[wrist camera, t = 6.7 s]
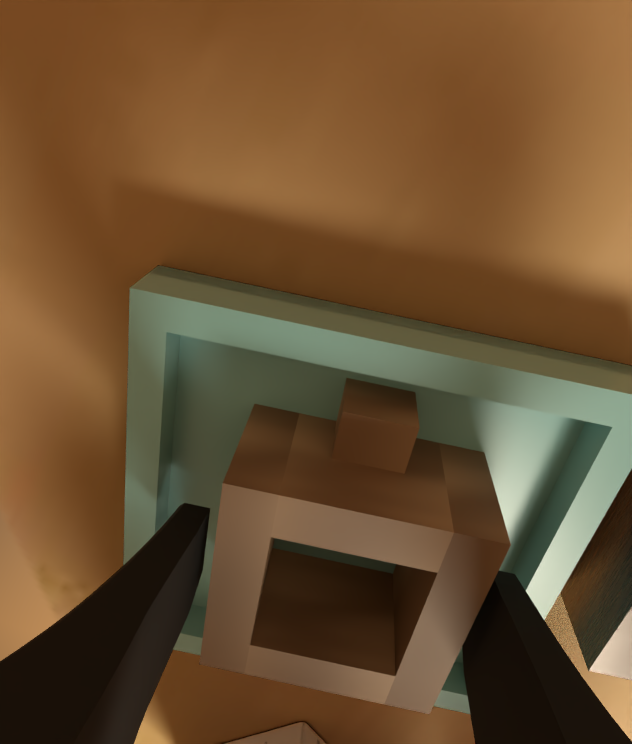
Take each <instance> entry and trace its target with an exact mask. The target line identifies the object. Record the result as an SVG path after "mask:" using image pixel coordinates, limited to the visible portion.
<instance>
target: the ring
mask: <svg viewBox="0 0 632 744" xmlns="http://www.w3.org/2000/svg"><path fill="white" fill-rule="evenodd" d="M418 431H419V419H418V411H417V402H416V393H415V392H412V391H407V390H403V389H398V388H393V387H389V386H384V385H379V384H374V383H370V382H365V381H360V380H355V379H351V378H347V379H346V383H345V387H344V391H343V396H342V400H341V404H340V408H339V412H338V416H337V421H334V420H330V419H325V418H320V417H316V416H311V415H306V414H301V413H297V412H292V411H287V410H283V409H278V408H273V407H268V406H264V405H259V404H254V406H253V409H252V411H251V414H250V416H249V419H248V421H247V424H246V426H245V429H244V431H243V434H242V436H241V439H240V441H239V444H238V446H237V448H236V451H235V453H234V456H233V458H232V461H231V463H230V466H229V468H228V471H227V473H226V476H225V478H224V481H223V483H222V491H221V499H220V507H219V515H218V522H217V530H216V538H215V546H214V553H213V561H212V569H211V577H210V584H209V592H208V600H207V608H206V616H205V623H204V631H203V639H202V647H201V654H200V662H199V664H200V665H204V666H209V667H214V668H218V669H223V670H228V671H232V672H237V673H241V674H246V675H251V676H255V677H260V678H264V679H269V680H274V681H278V682H283V683H287V684H292V685H297V686H301V687H306V688H311V689H315V690H320V691H324V692H329V693H334V694H338V695H343V696H347V697H352V698H357V699H361V700H366V701H370V702H375V703H380V704H384V705H389V706H394V707H398V708H403V709H407V710H412V711H417V712H421V713H426V714H430V712H431V710H432V708H433V706H434V704H435V702H436V700H437V698H438V696H439V693H440V691H441V689H442V687H443V685H444V683H445V681H446V679H447V677H448V675H449V673H450V671H451V668H452V666H453V664H454V662H455V660H456V658H457V656H458V654H459V652H460V650H461V648H462V646H463V644H464V641H465V639H466V637H467V635H468V633H469V631H470V629H471V627H472V625H473V623H474V621H475V619H476V617H477V614H478V612H479V610H480V608H481V606H482V604H483V602H484V600H485V598H486V596H487V594H488V592H489V589H490V587H491V585H492V583H493V581H494V579H495V577H496V575H497V573H498V571H499V569H500V567H501V565H502V562H503V560H504V558H505V556H506V554H507V552H508V550H509V548H510V546H511V543H510V540H509V536H508V533H507V529H506V526H505V522H504V519H503V515H502V512H501V508H500V505H499V502H498V498H497V495H496V491H495V488H494V484H493V481H492V477H491V474H490V470H489V467H488V463H487V460H486V456H485V453H484V452H480V451H476V450H471V449H466V448H462V447H457V446H452V445H447V444H443V443H438V442H433V441H429V440H424V439H419V438H416V437H417V434H418ZM275 538H277V539H282V540H287V541H291V542H296V543H301V544H305V545H310V546H315V547H319V548H324V549H329V550H333V551H338V552H342V553H347V554H352V555H356V556H361V557H366V558H370V559H375V560H380V561H384V562H389V563H394V564H396V566H395V569H394V572H393V574H392V573H387V572H383V571H378V570H373V569H369V568H364V567H359V566H355V565H350V564H345V563H341V562H336V561H331V560H327V559H322V558H317V557H313V556H308V555H303V554H299V553H294V552H290V551H285V550H280V549H276V548H273V544H274V539H275Z"/></svg>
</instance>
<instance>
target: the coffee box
mask: <svg viewBox="0 0 632 744" xmlns="http://www.w3.org/2000/svg"><path fill="white" fill-rule="evenodd" d="M224 744H326V743H325V742H324V741H323V740H322V739H321V738H320V737H319V736H318V735H317V734H316V733H315V732H314V731H313V730H312V729H311V728H310V727H309V726H308V724H306V723H305V722H299V723H295V724H292V725H288V726H285V727H281V728H278V729H274V730H271V731H267V732H264V733H260V734H257V735H253V736H250V737H246V738H242V739H239V740H235V741H232V742H228V743H224Z"/></svg>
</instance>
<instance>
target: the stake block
mask: <svg viewBox="0 0 632 744" xmlns="http://www.w3.org/2000/svg"><path fill="white" fill-rule="evenodd" d="M560 593H561V596H562V598H563V601H564V604H565V607H566V610H567V612H568V615H569V618H570V621H571V623H572V626H573V629H574V632H575V635H576V637H577V640H578V643H579V646H580V648H581V651H582V654H583V657H584V660H585V662H586V665H587V668H588V671H592V672H596V673H601V674H605V675H610V676H615V677H619V678H624V679H629V680H632V469H631V470H630V472H629V474H628V476H627V477H626V479H625V481H624V483H623V484H622V486H621V488H620V490H619V491H618V493H617V495H616V497H615V498H614V500H613V502H612V503H611V505H610V507H609V509H608V510H607V512H606V514H605V516H604V517H603V519H602V521H601V523H600V524H599V526H598V528H597V530H596V531H595V533H594V535H593V537H592V538H591V540H590V542H589V543H588V545H587V547H586V549H585V550H584V552H583V554H582V556H581V557H580V559H579V561H578V563H577V564H576V566H575V568H574V570H573V571H572V573H571V575H570V577H569V578H568V580H567V582H566V583H565V585H564V587H563V589H562V590H561V592H560Z"/></svg>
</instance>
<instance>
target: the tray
mask: <svg viewBox="0 0 632 744" xmlns="http://www.w3.org/2000/svg"><path fill="white" fill-rule="evenodd" d="M347 378H351V379H355V380H360V381H365V382H370V383H374V384H379V385H384V386H389V387H393V388H398V389H403V390H407V391H412V392H415V393H416V402H417V411H418V419H419V431H418V434H417V437H416V438H419V439H424V440H429V441H433V442H438V443H443V444H447V445H452V446H457V447H462V448H466V449H471V450H476V451H480V452H484V453H485V456H486V460H487V463H488V467H489V470H490V474H491V477H492V481H493V484H494V488H495V491H496V495H497V498H498V502H499V505H500V508H501V512H502V515H503V519H504V522H505V526H506V529H507V533H508V536H509V540H510V543H511V546H510V548H509V550H508V552H507V554H506V556H505V558H504V560H503V562H502V565H501V567H500V569H499V571H504V572H509V573H513V574H515V575H516V576H517V578H518V580H519V581H520V583H521V584H522V586H523V587H524V589H525V591H526V592H527V594H528V595H529V597H530V599H531V600H532V602H533V603H534V605H535V606H536V608H537V610H538V611H539V613H540V614H541V616H542V618H543V619H544V620H545V618H546V617H547V615H548V613H549V611H550V610H551V608H552V606H553V604H554V603H555V601H556V599H557V597H558V596H559V594H560V592H561V590H562V589H563V587H564V585H565V583H566V582H567V580H568V578H569V577H570V575H571V573H572V571H573V570H574V568H575V566H576V564H577V563H578V561H579V559H580V557H581V556H582V554H583V552H584V550H585V549H586V547H587V545H588V543H589V542H590V540H591V538H592V537H593V535H594V533H595V531H596V530H597V528H598V526H599V524H600V523H601V521H602V519H603V517H604V516H605V514H606V512H607V510H608V509H609V507H610V505H611V503H612V502H613V500H614V498H615V497H616V495H617V493H618V491H619V490H620V488H621V486H622V484H623V483H624V481H625V479H626V477H627V476H628V474H629V472H630V470H631V469H632V366H631V365H626V364H622V363H617V362H612V361H607V360H603V359H598V358H593V357H589V356H584V355H579V354H574V353H570V352H565V351H560V350H556V349H551V348H546V347H541V346H537V345H532V344H527V343H523V342H518V341H513V340H508V339H504V338H499V337H494V336H490V335H485V334H480V333H475V332H471V331H466V330H461V329H456V328H452V327H447V326H442V325H438V324H433V323H428V322H423V321H419V320H414V319H409V318H405V317H400V316H395V315H390V314H386V313H381V312H376V311H372V310H367V309H362V308H357V307H353V306H348V305H343V304H339V303H334V302H329V301H324V300H320V299H315V298H310V297H306V296H301V295H296V294H291V293H287V292H282V291H277V290H273V289H268V288H263V287H258V286H254V285H249V284H244V283H240V282H235V281H230V280H225V279H221V278H216V277H211V276H207V275H202V274H197V273H192V272H188V271H183V270H178V269H174V268H169V267H164V266H159V265H158V266H157V267H156V268H154V269H153V270H152V271H151V272H149V273H148V274H147V275H145V276H144V277H143V278H142V279H140V280H139V281H138V282H136V283H135V284H134V285H133V286H131V287H130V297H129V341H128V384H127V428H126V471H125V515H124V558H123V565H124V564H126V563H127V562H128V561H129V560H130V559H131V558H132V557H133V556H134V555H135V554H136V553H137V552H138V551H139V550H140V549H141V548H142V547H143V546H144V545H145V544H146V543H147V542H148V541H149V540H150V539H151V538H152V536H153V535H154V534H155V533H156V532H157V531H158V530H159V529H160V528H161V527H162V526H163V525H164V523H165V522H166V521H167V520H168V519H169V518H170V517H171V515H172V514H173V513H174V512H175V511H176V509H177V508H178V507H179V506H180V505H181V504H183V503H188V504H193V505H198V506H202V507H207V508H210V515H209V523H208V532H207V540H206V548H205V557H204V565H203V571H202V574H201V578H200V581H199V584H198V587H197V590H196V593H195V596H194V599H193V603H192V606H191V609H190V612H189V614H188V616H187V619H186V621H185V623H184V626H183V628H182V630H181V633H180V635H179V637H178V639H177V642H176V644H175V646H174V649H173V650H178V651H182V652H187V653H191V654H196V655H200V654H201V647H202V639H203V631H204V623H205V616H206V608H207V600H208V592H209V584H210V577H211V569H212V561H213V553H214V546H215V538H216V530H217V522H218V515H219V507H220V499H221V491H222V483H223V481H224V478H225V476H226V473H227V471H228V468H229V466H230V463H231V461H232V458H233V456H234V453H235V451H236V448H237V446H238V444H239V441H240V439H241V436H242V434H243V431H244V429H245V426H246V424H247V421H248V419H249V416H250V414H251V411H252V409H253V406H254V404H259V405H264V406H268V407H273V408H278V409H283V410H287V411H292V412H297V413H301V414H306V415H311V416H316V417H320V418H325V419H330V420H334V421H337V416H338V412H339V408H340V404H341V400H342V396H343V391H344V387H345V383H346V379H347ZM273 548H276V549H280V550H285V551H290V552H294V553H299V554H303V555H308V556H313V557H317V558H322V559H327V560H331V561H336V562H341V563H345V564H350V565H355V566H359V567H364V568H369V569H373V570H378V571H383V572H387V573H392V574H393V572H394V569H395V566H396V564H394V563H389V562H384V561H380V560H375V559H370V558H366V557H361V556H356V555H352V554H347V553H342V552H338V551H333V550H329V549H324V548H319V547H315V546H310V545H305V544H301V543H296V542H291V541H287V540H282V539H277V538H275V539H274V544H273ZM434 706H435V707H439V708H444V709H449V710H453V711H458V712H462V713H467V714H470V708H469V702H468V696H467V690H466V684H465V677H464V669H463V652H462V648H461V650H460V652H459V654H458V656H457V658H456V660H455V662H454V664H453V666H452V668H451V671H450V673H449V675H448V677H447V679H446V681H445V683H444V685H443V687H442V689H441V691H440V693H439V696H438V698H437V700H436V702H435V704H434Z"/></svg>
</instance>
